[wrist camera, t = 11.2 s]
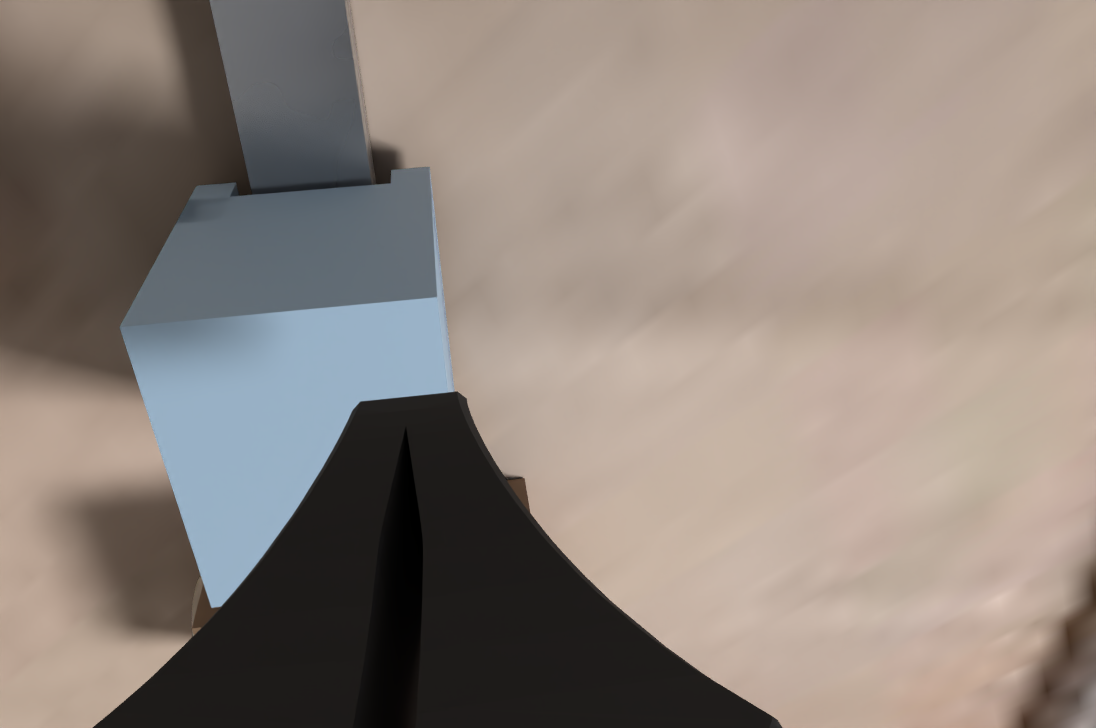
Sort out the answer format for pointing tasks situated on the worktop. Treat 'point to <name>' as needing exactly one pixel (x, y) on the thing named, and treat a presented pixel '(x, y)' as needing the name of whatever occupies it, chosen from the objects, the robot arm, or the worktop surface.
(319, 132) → the rail
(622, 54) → the worktop surface
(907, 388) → the worktop surface
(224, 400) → the block
